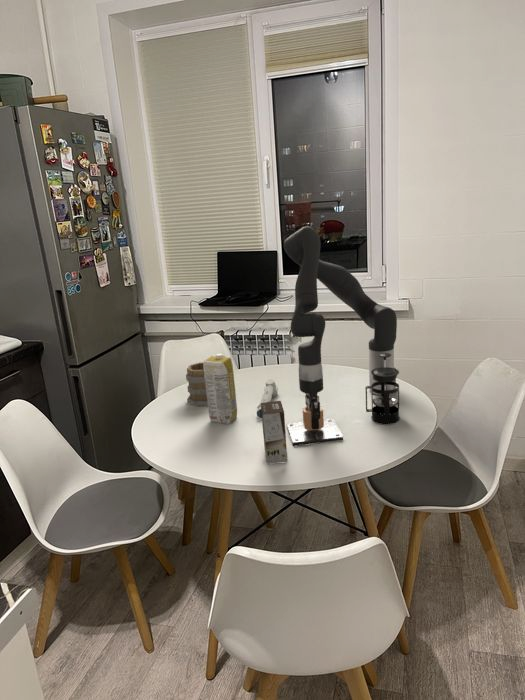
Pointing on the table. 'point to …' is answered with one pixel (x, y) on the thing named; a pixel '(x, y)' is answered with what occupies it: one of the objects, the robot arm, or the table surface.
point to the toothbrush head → (267, 394)
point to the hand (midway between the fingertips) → (313, 424)
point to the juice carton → (220, 389)
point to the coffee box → (274, 432)
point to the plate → (314, 433)
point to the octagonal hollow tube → (307, 419)
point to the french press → (384, 395)
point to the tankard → (196, 385)
